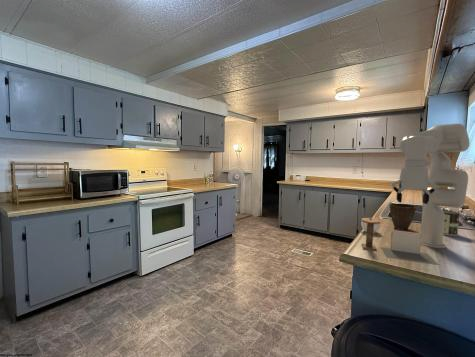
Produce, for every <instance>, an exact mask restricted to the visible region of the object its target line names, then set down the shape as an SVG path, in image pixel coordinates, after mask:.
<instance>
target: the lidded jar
mask: <svg viewBox="0 0 475 357" xmlns="http://www.w3.org/2000/svg"><path fill="white" fill-rule="evenodd" d="M360 221H361V222H360V224H361V228H362V230H363V231H364V232H365V233H367V222H374V230H373V234H375V233H376V232H378V231H379V230H380V225H381V220H379V219H377V218H373V217H371V216H370V217H363V218H361V219H360Z"/></svg>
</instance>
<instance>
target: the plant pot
mask: <svg viewBox="0 0 475 357" xmlns="http://www.w3.org/2000/svg"><path fill="white" fill-rule="evenodd" d="M416 210H417V206H415V205H411V204H408V203H405V204H404V203H389V212H390V218H391V222H392V225H393V227H394V228H395V229H396V228H398V229H397V230H400V229H408V230H409V229H410V226H411V224H412V222H413V219H414V217H415V213H416Z"/></svg>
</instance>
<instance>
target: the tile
mask: <svg viewBox="0 0 475 357" xmlns="http://www.w3.org/2000/svg"><path fill="white" fill-rule="evenodd" d="M420 233H421V232H413V231H405V230H394V229H391V233H390V235H391V236H390V246H389V248H390V250H393V251H400V252H407V253H415V254H420V253H421V244H420V243H421V234H420Z"/></svg>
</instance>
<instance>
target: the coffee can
mask: <svg viewBox="0 0 475 357" xmlns="http://www.w3.org/2000/svg"><path fill="white" fill-rule="evenodd" d="M442 210H443V209H442ZM443 212H444V214H445V218H444V229H443V236H444V235H446V236H450V237H451V236H453V237H457V236H458V233H459V232H458V230H459V224H460V223H459V221H460V214H461V213H460V212H458V211H452V210H445V209H444V210H443Z"/></svg>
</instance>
